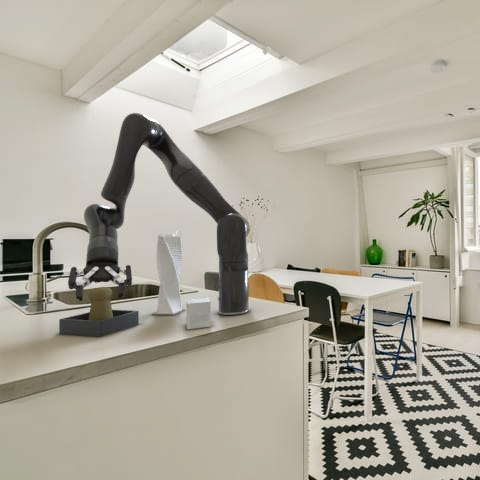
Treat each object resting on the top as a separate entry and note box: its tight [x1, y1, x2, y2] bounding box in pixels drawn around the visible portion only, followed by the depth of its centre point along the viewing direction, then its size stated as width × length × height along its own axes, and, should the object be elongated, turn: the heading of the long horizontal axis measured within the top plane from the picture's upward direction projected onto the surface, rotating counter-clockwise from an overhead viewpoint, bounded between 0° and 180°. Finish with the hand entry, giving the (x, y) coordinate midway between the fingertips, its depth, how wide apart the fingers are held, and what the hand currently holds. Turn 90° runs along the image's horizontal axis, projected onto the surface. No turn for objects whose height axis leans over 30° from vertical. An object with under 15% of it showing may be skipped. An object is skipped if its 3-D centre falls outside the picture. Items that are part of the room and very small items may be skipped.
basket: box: [58, 309, 140, 338], centre depth 92 cm, size 12×12×4 cm
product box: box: [185, 297, 212, 330], centre depth 96 cm, size 6×6×7 cm
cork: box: [88, 286, 114, 321], centre depth 92 cm, size 6×6×11 cm
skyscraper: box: [151, 228, 186, 316], centre depth 110 cm, size 8×8×28 cm
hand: (100, 297), depth 91 cm, fingers open, 8 cm apart
